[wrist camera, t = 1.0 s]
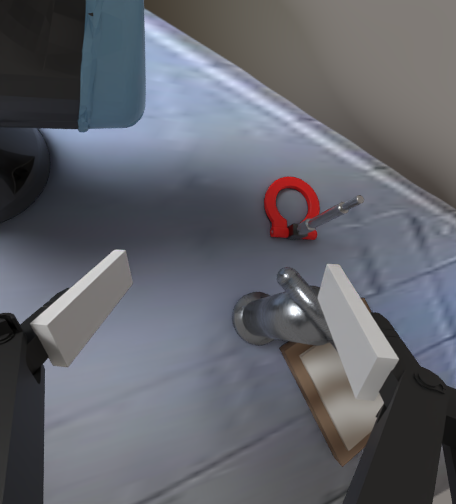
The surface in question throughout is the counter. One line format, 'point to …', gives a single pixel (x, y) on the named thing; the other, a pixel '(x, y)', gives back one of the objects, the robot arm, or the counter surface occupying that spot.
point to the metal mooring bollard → (283, 314)
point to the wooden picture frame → (332, 397)
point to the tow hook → (312, 218)
